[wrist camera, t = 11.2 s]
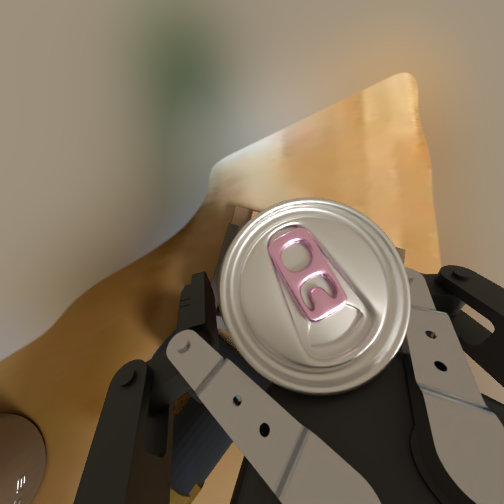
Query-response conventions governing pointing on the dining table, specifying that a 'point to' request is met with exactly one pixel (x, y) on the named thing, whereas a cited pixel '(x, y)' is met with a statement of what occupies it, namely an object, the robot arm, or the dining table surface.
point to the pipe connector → (200, 435)
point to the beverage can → (314, 296)
